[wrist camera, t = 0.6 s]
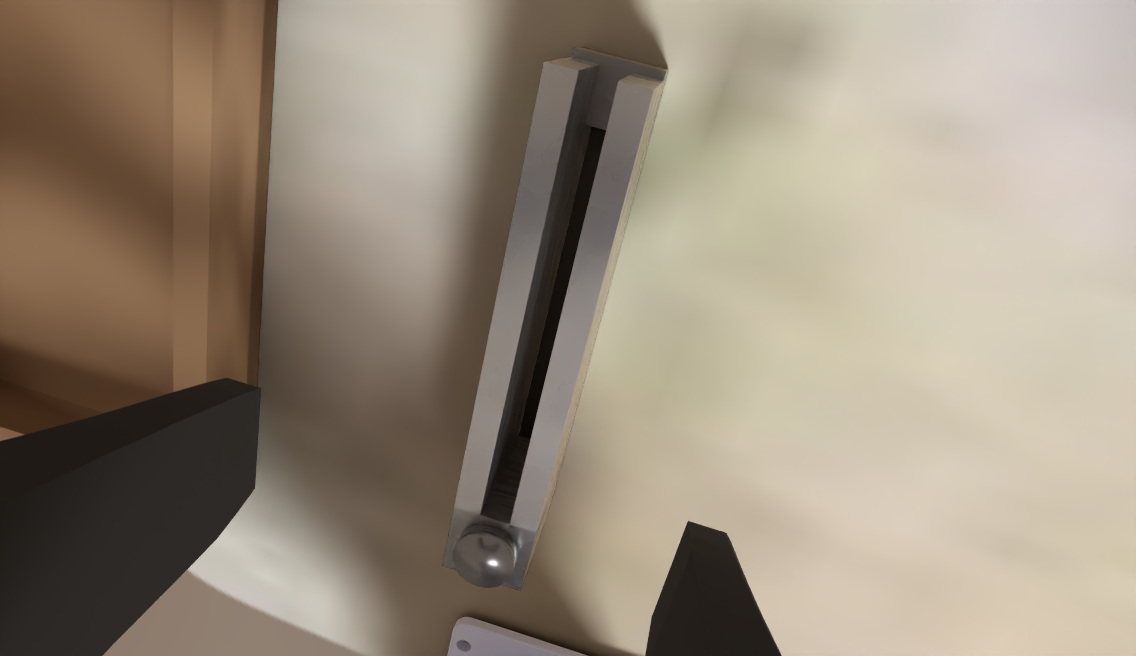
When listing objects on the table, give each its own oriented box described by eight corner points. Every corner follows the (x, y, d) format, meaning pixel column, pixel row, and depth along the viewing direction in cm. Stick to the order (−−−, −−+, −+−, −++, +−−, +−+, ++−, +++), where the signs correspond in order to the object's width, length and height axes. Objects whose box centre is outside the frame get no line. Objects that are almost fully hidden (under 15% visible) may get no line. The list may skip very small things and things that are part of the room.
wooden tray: (252, 471, 25) (202, 518, 22) (-11, 387, 25) (-85, 424, 23) (285, -136, 17) (217, -162, 15) (-86, -227, 18) (-206, -265, 16)
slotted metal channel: (551, 501, 23) (515, 604, 19) (485, 480, 23) (435, 578, 19) (668, 69, 17) (654, 81, 13) (580, 46, 18) (540, 51, 13)
